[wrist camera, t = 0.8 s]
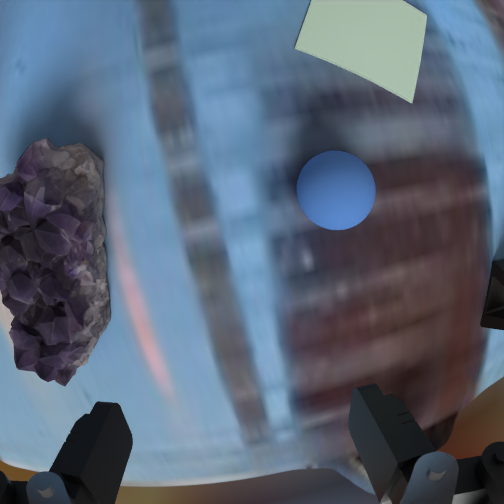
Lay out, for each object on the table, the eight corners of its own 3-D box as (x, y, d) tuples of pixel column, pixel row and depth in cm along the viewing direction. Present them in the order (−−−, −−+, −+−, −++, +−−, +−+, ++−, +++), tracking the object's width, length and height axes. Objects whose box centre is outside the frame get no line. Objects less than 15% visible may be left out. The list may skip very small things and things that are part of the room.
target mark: (294, 48, 22) (294, 48, 22) (324, -36, 19) (325, -37, 19) (411, 103, 24) (412, 102, 24) (426, 16, 21) (426, 15, 21)
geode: (147, 352, 28) (108, 424, 19) (57, 340, 29) (7, 392, 19) (122, 133, 22) (45, 126, 13) (24, 152, 23) (-53, 162, 13)
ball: (279, 210, 26) (296, 222, 20) (301, 142, 24) (324, 134, 18) (343, 231, 26) (373, 248, 21) (364, 167, 25) (399, 168, 19)
